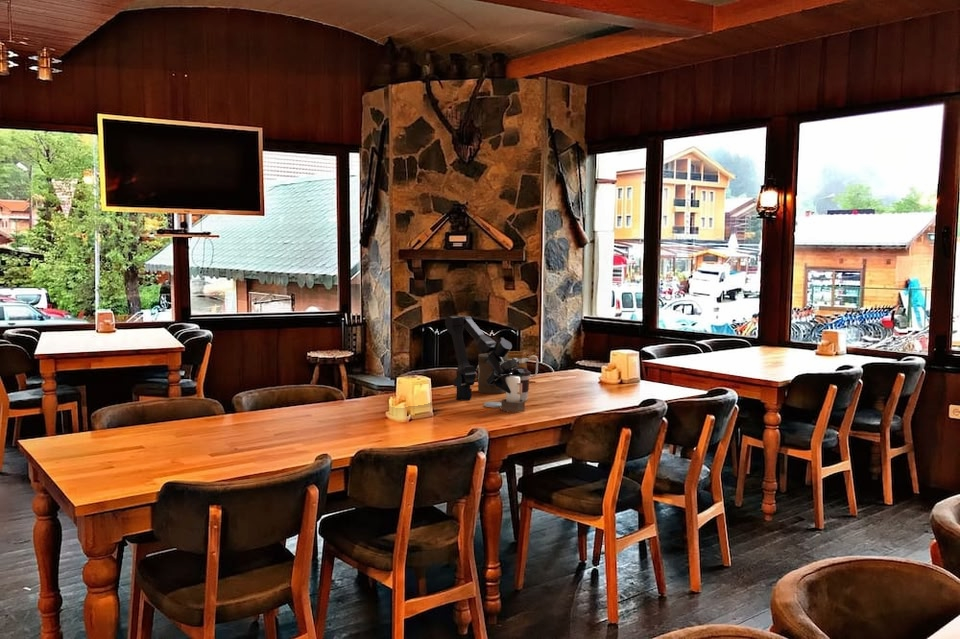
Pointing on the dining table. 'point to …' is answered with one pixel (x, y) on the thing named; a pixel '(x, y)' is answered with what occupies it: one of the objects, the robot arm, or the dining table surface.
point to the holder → (513, 406)
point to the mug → (522, 359)
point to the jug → (513, 389)
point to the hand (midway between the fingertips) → (515, 392)
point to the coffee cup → (524, 382)
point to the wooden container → (487, 375)
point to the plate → (493, 404)
